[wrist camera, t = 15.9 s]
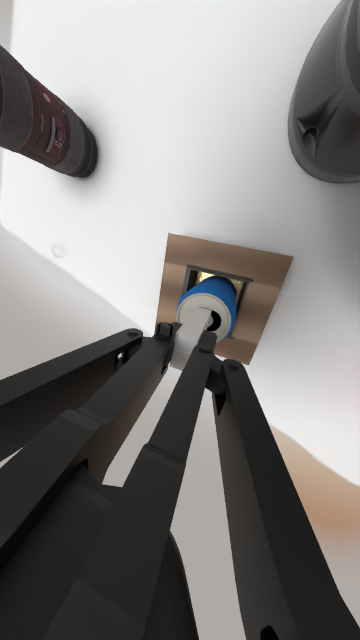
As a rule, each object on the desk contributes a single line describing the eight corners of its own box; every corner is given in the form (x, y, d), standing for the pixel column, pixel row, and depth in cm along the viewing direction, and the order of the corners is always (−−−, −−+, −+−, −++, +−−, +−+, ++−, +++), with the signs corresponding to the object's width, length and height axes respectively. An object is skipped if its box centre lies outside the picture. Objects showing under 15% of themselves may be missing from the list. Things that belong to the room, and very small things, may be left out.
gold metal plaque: (200, 267, 29) (199, 267, 28) (244, 277, 28) (245, 278, 27) (191, 308, 32) (189, 309, 31) (231, 319, 31) (231, 321, 30)
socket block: (182, 237, 29) (168, 233, 23) (281, 256, 26) (293, 256, 20) (168, 321, 35) (154, 334, 29) (246, 344, 32) (248, 365, 26)
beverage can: (230, 318, 29) (226, 355, 19) (193, 309, 31) (169, 339, 20) (241, 279, 27) (244, 296, 16) (200, 271, 28) (177, 282, 18)
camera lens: (88, 106, 26) (-66, -46, 13) (108, 169, 29) (-7, 95, 15) (52, 134, 29) (-105, 34, 16) (73, 190, 31) (-51, 143, 18)
